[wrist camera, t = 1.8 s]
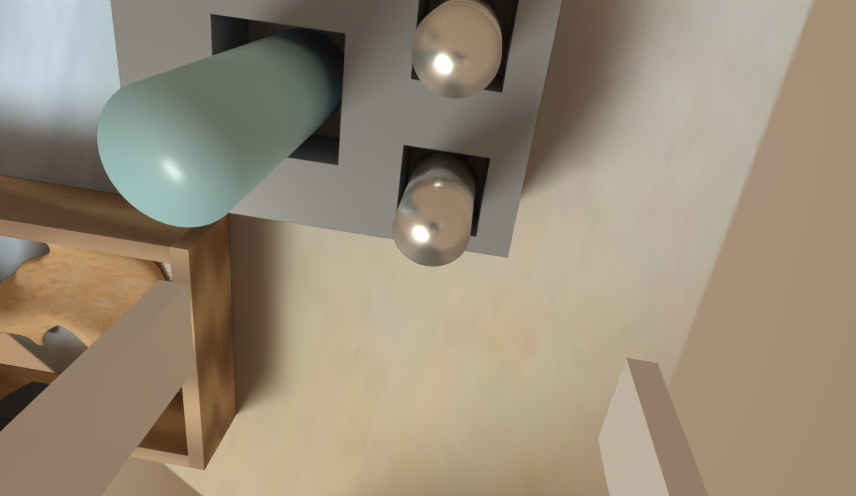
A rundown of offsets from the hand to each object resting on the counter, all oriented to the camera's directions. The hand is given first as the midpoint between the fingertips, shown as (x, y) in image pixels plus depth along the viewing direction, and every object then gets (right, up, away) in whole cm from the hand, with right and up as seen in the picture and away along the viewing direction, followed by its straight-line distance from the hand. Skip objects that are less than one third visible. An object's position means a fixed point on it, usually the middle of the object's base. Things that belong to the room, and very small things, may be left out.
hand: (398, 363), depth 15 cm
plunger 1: (+2, +12, +9) cm, 16 cm away
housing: (-3, +12, +15) cm, 19 cm away
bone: (-23, 0, +24) cm, 33 cm away
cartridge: (-5, +11, +13) cm, 18 cm away
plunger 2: (+2, +6, +12) cm, 14 cm away
